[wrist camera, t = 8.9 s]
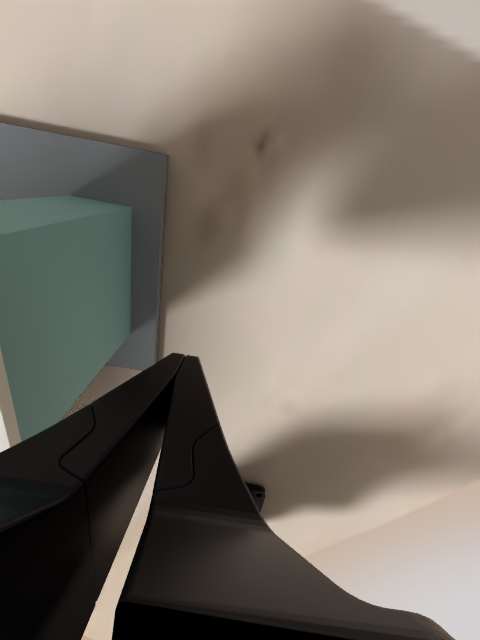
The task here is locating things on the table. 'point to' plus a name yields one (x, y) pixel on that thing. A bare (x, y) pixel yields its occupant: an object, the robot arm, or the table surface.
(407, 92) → the table surface
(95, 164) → the mat
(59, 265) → the slab
